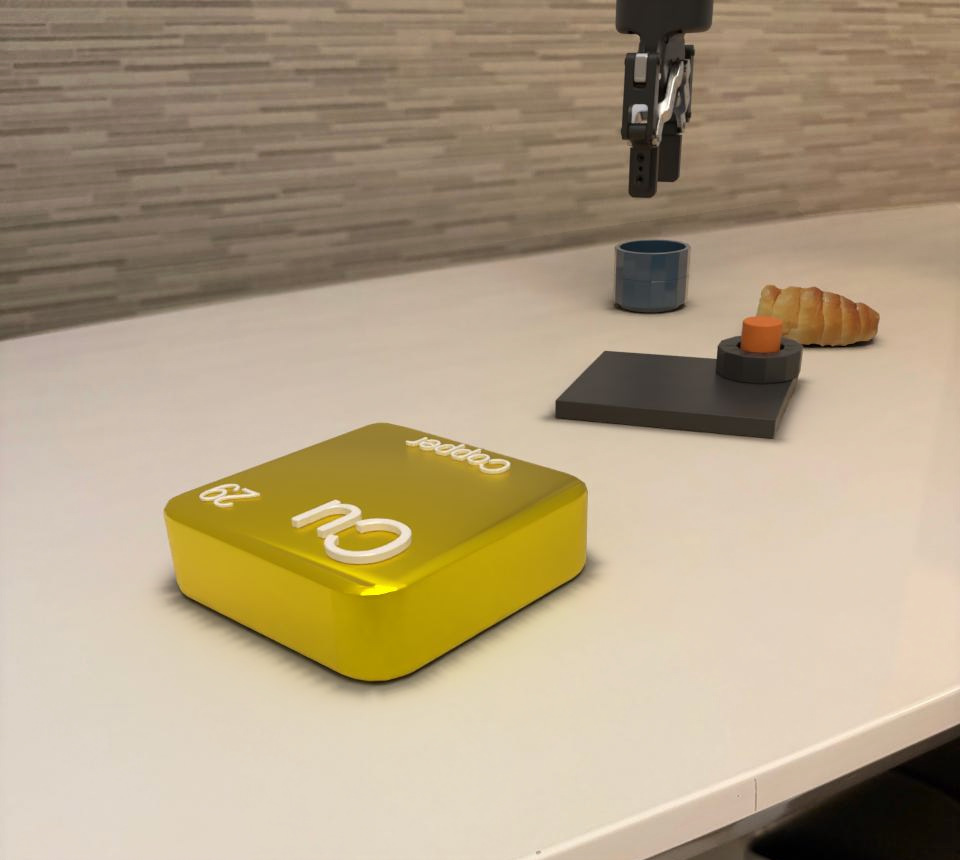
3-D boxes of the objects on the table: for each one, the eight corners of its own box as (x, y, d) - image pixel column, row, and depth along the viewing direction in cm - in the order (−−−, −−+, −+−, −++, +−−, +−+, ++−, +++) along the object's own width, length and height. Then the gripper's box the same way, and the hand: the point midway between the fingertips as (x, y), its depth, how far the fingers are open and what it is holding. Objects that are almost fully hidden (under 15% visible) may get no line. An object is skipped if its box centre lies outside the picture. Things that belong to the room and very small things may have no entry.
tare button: (782, 347, 74) (785, 317, 73) (776, 357, 72) (780, 326, 71) (743, 344, 74) (746, 314, 73) (737, 355, 72) (740, 324, 71)
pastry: (877, 329, 86) (884, 280, 84) (875, 353, 81) (883, 301, 79) (757, 323, 89) (761, 276, 87) (747, 346, 84) (752, 296, 82)
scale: (801, 380, 76) (807, 337, 74) (777, 439, 66) (783, 391, 64) (604, 365, 80) (605, 324, 79) (554, 418, 70) (555, 372, 69)
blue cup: (693, 298, 97) (696, 240, 95) (678, 316, 92) (681, 255, 89) (623, 295, 99) (625, 238, 97) (605, 311, 94) (606, 252, 92)
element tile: (603, 564, 52) (606, 470, 50) (377, 698, 42) (368, 590, 40) (387, 490, 61) (381, 407, 58) (160, 587, 51) (141, 493, 49)
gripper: (641, -35, 89) (632, 176, 98) (593, -38, 78) (587, 201, 86) (732, -39, 87) (715, 178, 95) (696, -42, 76) (680, 204, 84)
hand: (654, 189), depth 91 cm, fingers open, 8 cm apart
